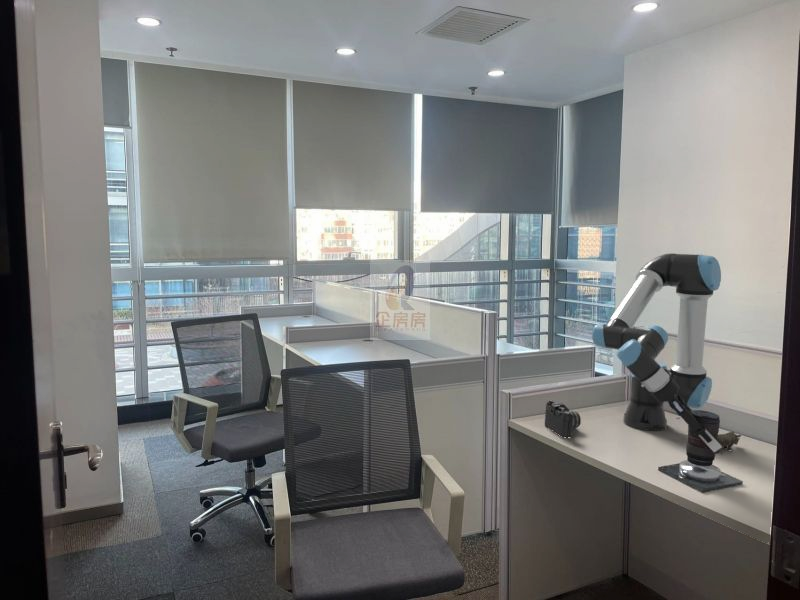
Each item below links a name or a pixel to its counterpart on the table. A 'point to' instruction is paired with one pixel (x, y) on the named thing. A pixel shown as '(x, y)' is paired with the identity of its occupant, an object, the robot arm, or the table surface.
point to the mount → (700, 476)
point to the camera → (561, 419)
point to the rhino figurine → (727, 440)
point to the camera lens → (695, 445)
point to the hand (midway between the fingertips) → (714, 443)
